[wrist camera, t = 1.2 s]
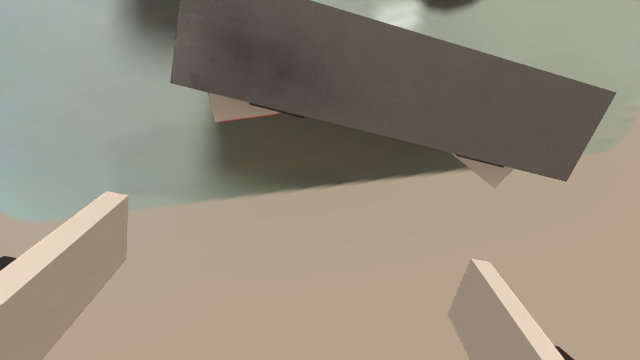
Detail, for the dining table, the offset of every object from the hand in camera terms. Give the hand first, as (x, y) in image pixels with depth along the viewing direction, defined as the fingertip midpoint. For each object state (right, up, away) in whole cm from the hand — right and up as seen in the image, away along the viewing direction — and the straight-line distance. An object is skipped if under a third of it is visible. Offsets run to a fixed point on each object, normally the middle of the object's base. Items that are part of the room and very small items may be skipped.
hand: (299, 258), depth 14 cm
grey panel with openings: (+6, +17, +30) cm, 35 cm away
